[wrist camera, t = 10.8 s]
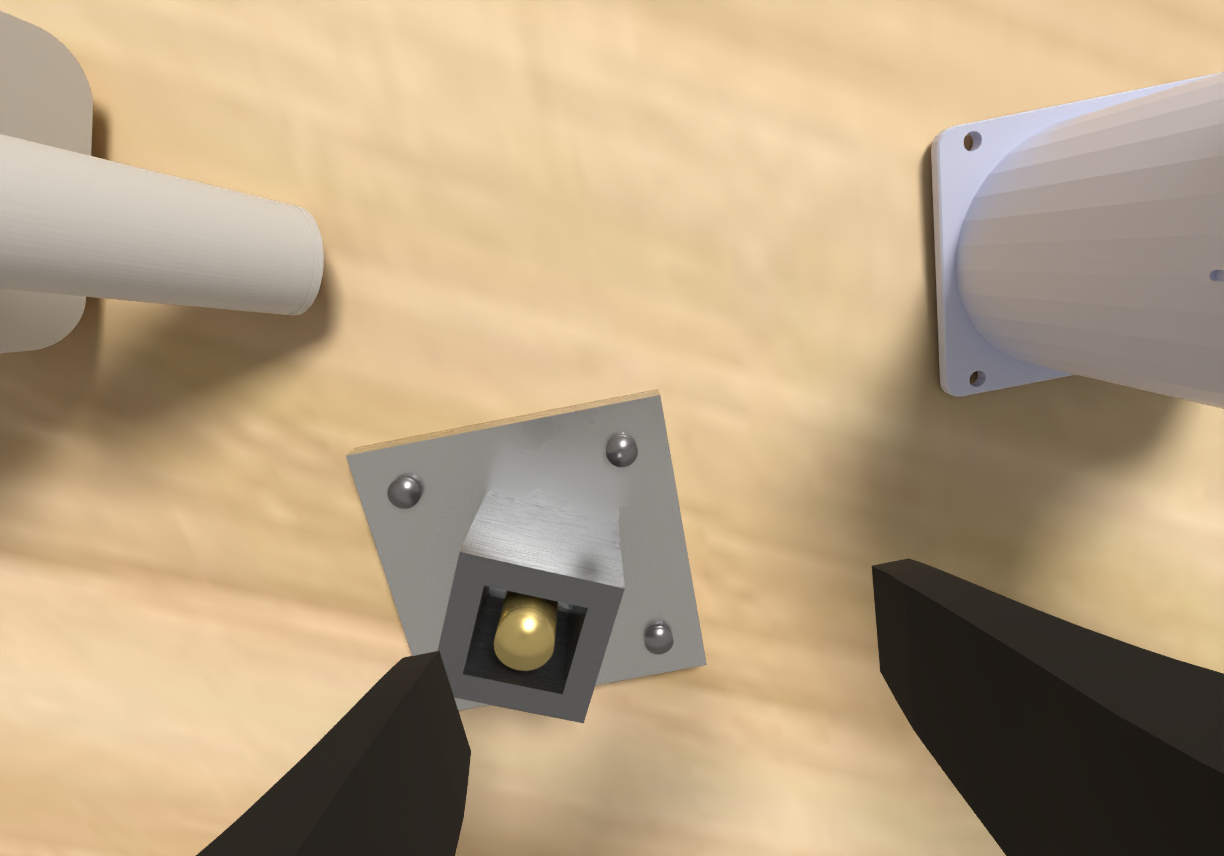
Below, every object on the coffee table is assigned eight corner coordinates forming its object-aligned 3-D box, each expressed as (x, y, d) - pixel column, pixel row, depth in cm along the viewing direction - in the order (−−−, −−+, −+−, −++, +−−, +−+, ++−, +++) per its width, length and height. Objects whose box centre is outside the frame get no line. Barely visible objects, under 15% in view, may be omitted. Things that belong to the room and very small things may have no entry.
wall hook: (331, 405, 18) (-110, 518, 9) (57, 315, 20) (-586, 326, 10) (372, 128, 16) (-145, -120, 7) (63, 49, 18) (-734, -252, 8)
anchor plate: (657, 389, 19) (679, 432, 14) (702, 650, 22) (733, 760, 17) (355, 447, 19) (277, 509, 14) (437, 699, 22) (394, 822, 17)
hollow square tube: (618, 524, 19) (624, 588, 16) (584, 636, 21) (583, 723, 17) (486, 493, 19) (459, 551, 15) (459, 610, 20) (428, 692, 16)
